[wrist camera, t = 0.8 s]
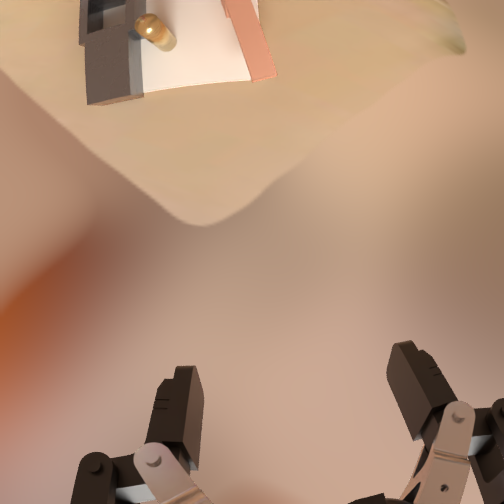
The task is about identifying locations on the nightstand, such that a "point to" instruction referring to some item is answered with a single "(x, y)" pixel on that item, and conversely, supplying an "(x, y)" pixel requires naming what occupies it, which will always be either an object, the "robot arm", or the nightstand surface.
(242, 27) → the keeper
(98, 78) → the link
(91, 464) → the robot arm
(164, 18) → the board
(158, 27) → the cylinder
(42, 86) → the nightstand surface
